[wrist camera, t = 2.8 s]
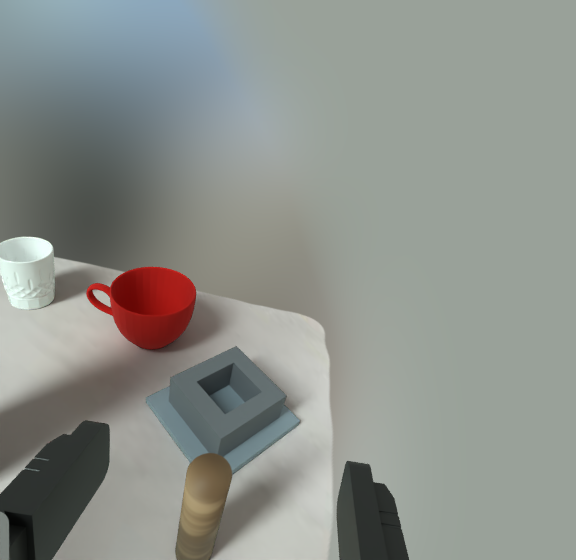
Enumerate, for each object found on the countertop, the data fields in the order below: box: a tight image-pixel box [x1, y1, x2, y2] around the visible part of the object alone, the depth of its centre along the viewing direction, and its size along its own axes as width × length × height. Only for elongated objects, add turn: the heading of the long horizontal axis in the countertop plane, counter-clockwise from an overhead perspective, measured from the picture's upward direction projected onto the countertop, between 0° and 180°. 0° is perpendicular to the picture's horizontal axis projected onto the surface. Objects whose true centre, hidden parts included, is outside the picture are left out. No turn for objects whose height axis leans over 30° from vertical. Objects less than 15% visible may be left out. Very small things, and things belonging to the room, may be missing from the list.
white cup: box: [0, 237, 55, 310], centre depth 65 cm, size 8×8×10 cm
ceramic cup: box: [86, 267, 196, 350], centre depth 64 cm, size 13×17×10 cm
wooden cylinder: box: [175, 453, 232, 560], centre depth 39 cm, size 4×4×15 cm
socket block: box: [146, 346, 300, 474], centre depth 56 cm, size 16×16×6 cm
